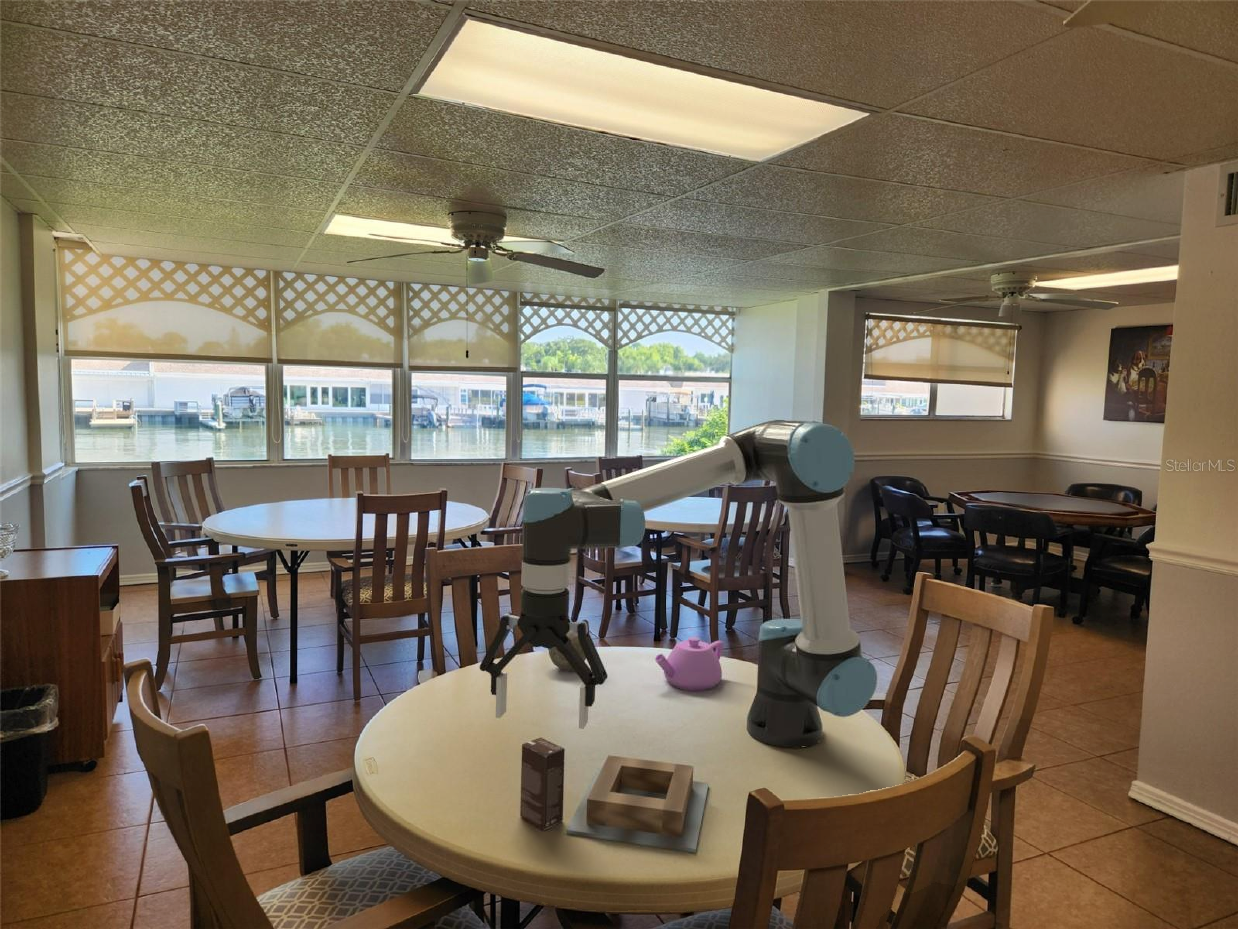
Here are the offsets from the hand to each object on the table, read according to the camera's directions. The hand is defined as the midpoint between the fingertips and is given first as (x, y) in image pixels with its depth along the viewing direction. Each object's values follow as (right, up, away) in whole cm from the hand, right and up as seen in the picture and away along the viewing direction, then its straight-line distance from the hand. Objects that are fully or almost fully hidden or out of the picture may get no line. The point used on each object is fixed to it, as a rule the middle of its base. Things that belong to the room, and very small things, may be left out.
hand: (541, 720), depth 119 cm
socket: (+16, -16, +5) cm, 24 cm away
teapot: (+29, -12, +62) cm, 69 cm away
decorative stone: (0, -11, +68) cm, 69 cm away
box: (0, -17, +2) cm, 17 cm away
